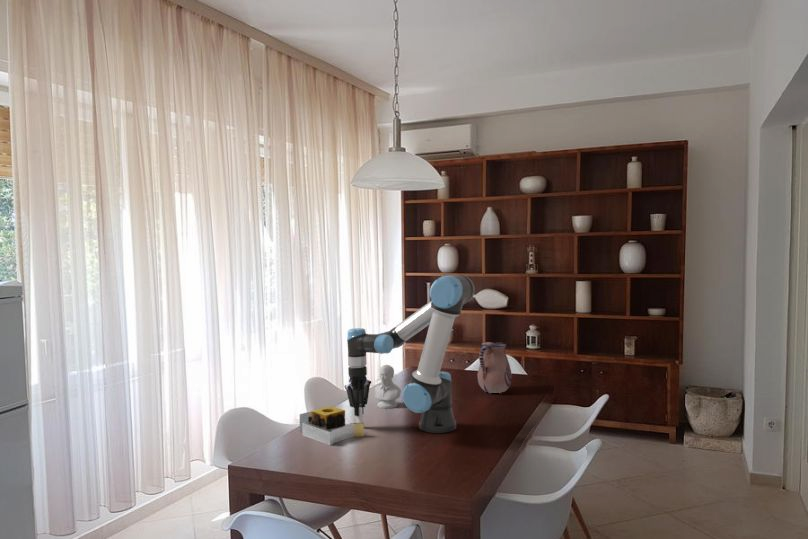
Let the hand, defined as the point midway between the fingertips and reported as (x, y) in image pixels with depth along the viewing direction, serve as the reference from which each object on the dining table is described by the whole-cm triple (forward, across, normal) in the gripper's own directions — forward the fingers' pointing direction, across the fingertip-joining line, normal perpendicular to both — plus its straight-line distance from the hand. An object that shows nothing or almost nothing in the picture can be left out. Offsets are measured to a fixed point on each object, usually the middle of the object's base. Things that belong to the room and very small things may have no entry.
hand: (359, 423), depth 231 cm
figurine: (+2, -31, -15) cm, 35 cm away
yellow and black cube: (+2, +15, -2) cm, 15 cm away
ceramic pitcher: (+3, -84, +8) cm, 84 cm away
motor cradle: (+2, +14, -2) cm, 14 cm away
